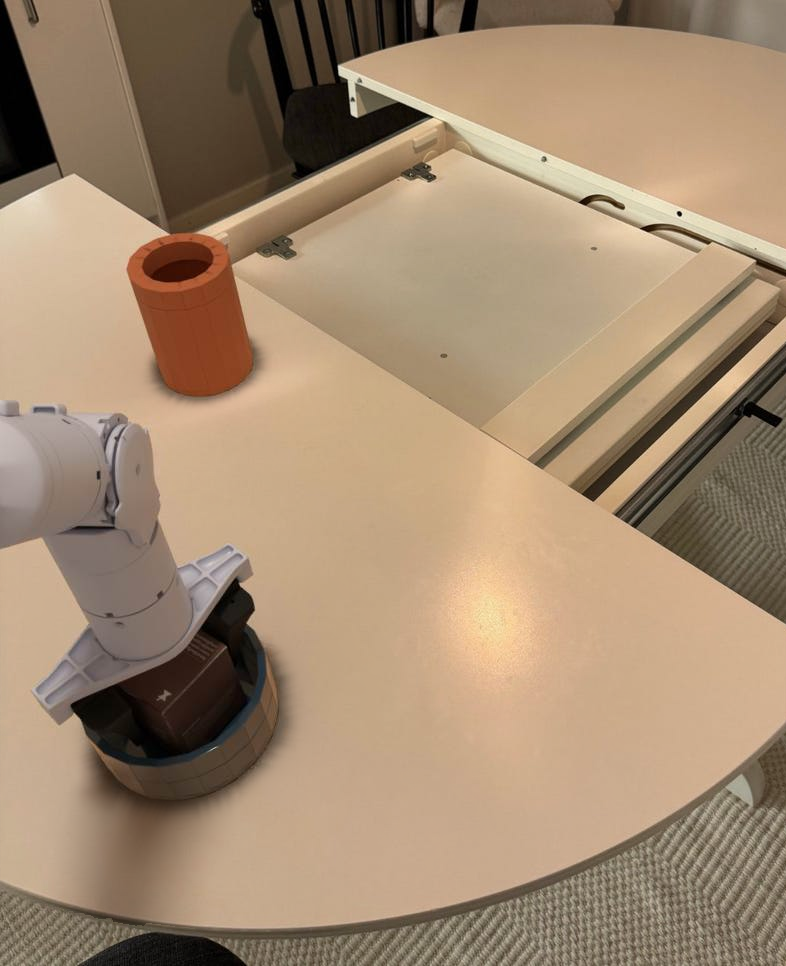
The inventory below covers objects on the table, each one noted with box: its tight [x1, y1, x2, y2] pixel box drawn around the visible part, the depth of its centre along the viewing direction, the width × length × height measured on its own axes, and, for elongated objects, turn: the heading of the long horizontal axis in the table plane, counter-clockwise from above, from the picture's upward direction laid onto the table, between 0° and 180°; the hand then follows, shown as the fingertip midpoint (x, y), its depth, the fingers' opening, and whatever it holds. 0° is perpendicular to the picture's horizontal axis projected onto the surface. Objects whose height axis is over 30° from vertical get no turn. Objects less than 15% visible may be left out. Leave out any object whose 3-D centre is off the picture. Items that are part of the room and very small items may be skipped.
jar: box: [126, 232, 254, 397], centre depth 88 cm, size 9×9×12 cm
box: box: [112, 629, 247, 756], centre depth 64 cm, size 6×6×7 cm
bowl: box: [80, 622, 279, 801], centre depth 66 cm, size 12×12×5 cm
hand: (180, 695), depth 65 cm, fingers open, 7 cm apart
